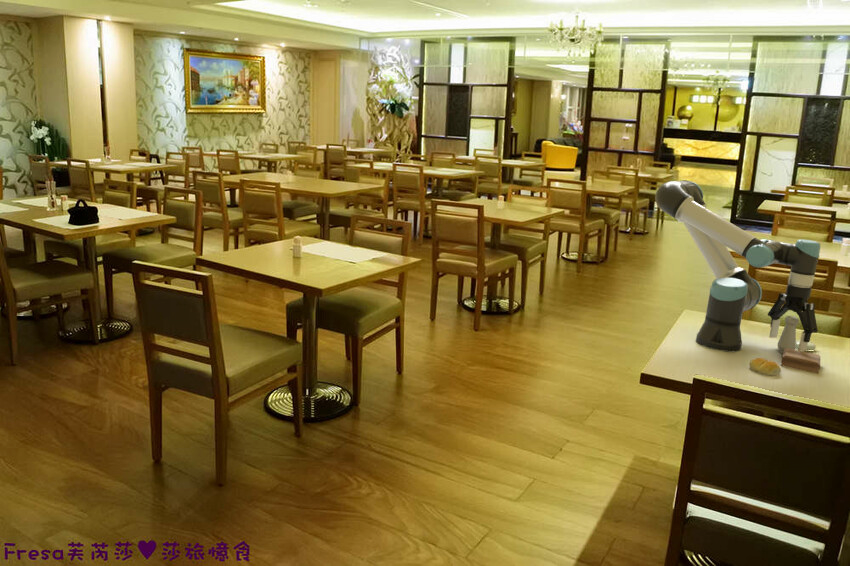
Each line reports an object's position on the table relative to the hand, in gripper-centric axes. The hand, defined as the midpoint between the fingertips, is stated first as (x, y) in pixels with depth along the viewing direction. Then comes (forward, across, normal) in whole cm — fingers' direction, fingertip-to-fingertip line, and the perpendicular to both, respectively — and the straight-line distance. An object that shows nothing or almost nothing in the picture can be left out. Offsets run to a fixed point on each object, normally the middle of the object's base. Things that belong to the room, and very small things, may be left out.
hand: (787, 343), depth 246 cm
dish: (+4, +4, -12) cm, 13 cm away
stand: (+3, -12, +5) cm, 13 cm away
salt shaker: (+3, 0, 0) cm, 3 cm away
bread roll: (+4, -16, +23) cm, 28 cm away
